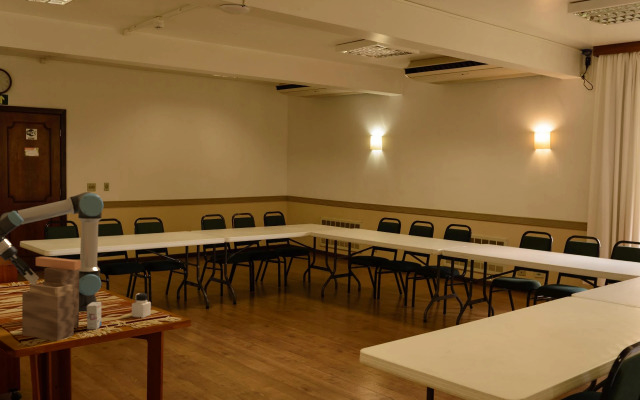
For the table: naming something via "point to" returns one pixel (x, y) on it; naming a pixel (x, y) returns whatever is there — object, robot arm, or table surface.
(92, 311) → the ink box
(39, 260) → the block
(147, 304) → the medicine bottle
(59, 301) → the brown stepped wooden block
